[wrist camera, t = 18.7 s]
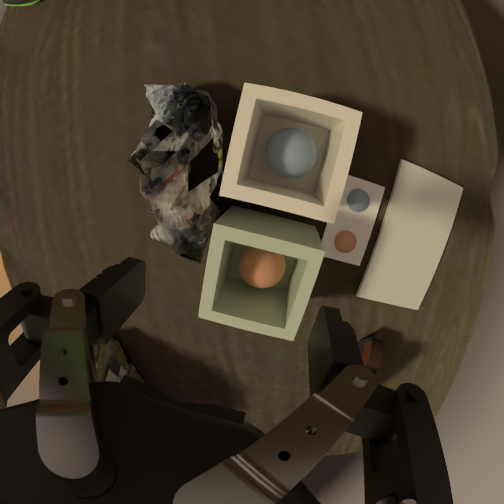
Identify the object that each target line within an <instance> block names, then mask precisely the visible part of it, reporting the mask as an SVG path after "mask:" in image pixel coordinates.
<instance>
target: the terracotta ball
mask: <svg viewBox="0 0 504 504" xmlns="http://www.w3.org/2000/svg"><path fill="white" fill-rule="evenodd" d="M285 268H286V262H285V258H284V255H282V254H278V253H274V252H271V251H267V250H263V249H259V248H255V247H251V246H248V247H246V248H245V250H244V251H243V252H242V254H241V256H240V259H239V271H240V274H241V276H242V278H243V279H244V280H245V281H246V282H247V283H248V284H249V285H251V286H253V287H256V288H269V287H271V286H273V285H275V284H276V283H278V282H279V281H280V280H281V278H282V277H283V275H284V272H285Z"/></svg>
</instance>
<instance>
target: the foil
mask: <svg viewBox="0 0 504 504" xmlns="http://www.w3.org/2000/svg"><path fill="white" fill-rule="evenodd" d="M144 86H145V87H146V88H147V89H146V97H147V98H148V99H149V101H150V103H151V105H152V108H151V109H153V114H152V116H151V117H152V120H151V123H150V125H149V129H148V130H147V131H146V132H145V133H144V135H143V136H142V137H141V139H140V140H141V143H140V144H139V145H138V147H137V148H136V149H135V150H134V151H133V153H132V154H131V155H130V157H129V158H128V160H127V161H129V162H131V163H132V164H133V165H134V166H135V167H136V168H137V169H138V170H140V171H141V172H142V173H143V174H144V175H147V178H146V182H145V185H144V187H143V189H142V191H141V180H140V192H141V193H142V195H143V196H144V197H145V198H147V199H149V202H150V205H151V208H150V210H149V212H150V213H154V216H155V218H156V219H157V222H158V225H157V226H156V227H154V229H153V230H152V232H151V234H150V235H151V237H152V239H157V240H158V241H163V242H166V243H167V244H168V245H169V246H170V247H171V248H172V249H173V250H175V251H176V253H178V254H180V255H181V256H180V255H178V254H176V253H175V254H176V255H178V256H180V257H182V256H183V257H182V258H184V259H186V260H188V261H190V262H192V263H194V264H198V263H201V259H202V256H203V252H204V249H205V246H206V243H207V241H208V239H209V237H210V235H211V234H212V230H213V224H214V223H215V222H216V221H217V220H218V217H219V214H220V211H219V209H218V208H217V207H216V205H215V204H214V202H213V201H212V200H211V198H210V195H211V193H212V191H213V189H214V188H215V186H216V185H217V179H218V177H219V174H220V172H221V171H222V127H221V125H220V124H219V123H218V122H217V117H218V110H217V107H216V104H215V102H214V100H213V99H212V98H211V96H210V95H209V93H208V91H207V90H194V89H192V88H191V87H190V86H189V85H187V84H186V83H185V82H183V83H176V84H170V85H157V84H144ZM210 105H211V111H210V110H209V109H208V106H210ZM211 122H212V126H211V128H210V123H211ZM162 125H165V126H167V127H168V128H170V129H171V130H173V132H172V133H170V134H169V135H168V136H167V137H166V138H165V139H164V140H162V141H160V140H159V139H158V138H157V136H156V135H155V133H156V128H158V127H160V126H162ZM213 137H214V146H213V151H214V152H215V153H217V154H218V157H219V167H218V172H217V173H216V174H214V175H213V176H211V177H210V178H208V179H207V180H205V181H204V182H202V183H201V184H199V185H198V186H196V187H195V188H193V189H192V190H191V191H189V192H188V173H190V172H191V163H190V161H191V160H192V159H193V158H194V157H195V156H196V155H197V154H198V153H199V152H200V151H201V150H202V149H203V148H204V147H205V146H206V145H207V143H208V142H209V141H210V140H211V139H212V138H213ZM168 151H177V152H175V153H174V154H173V155H172V156H170V154H169V153H168ZM139 157H140V158H139ZM142 157H144V158H142ZM222 178H223V171H222ZM219 218H220V217H219ZM148 238H149V237H148ZM152 239H151V240H152ZM152 241H153V240H152ZM159 245H160V244H159ZM164 248H165V247H164ZM166 249H167V248H166ZM169 251H170V250H169ZM171 252H172V251H171ZM173 253H174V252H173Z"/></svg>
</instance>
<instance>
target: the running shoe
mask: <svg viewBox="0 0 504 504" xmlns="http://www.w3.org/2000/svg"><path fill="white" fill-rule="evenodd" d="M39 1H40V0H3V2H4V4H6V5H9V6H27V5H32V4H35V3H37V2H39Z"/></svg>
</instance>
